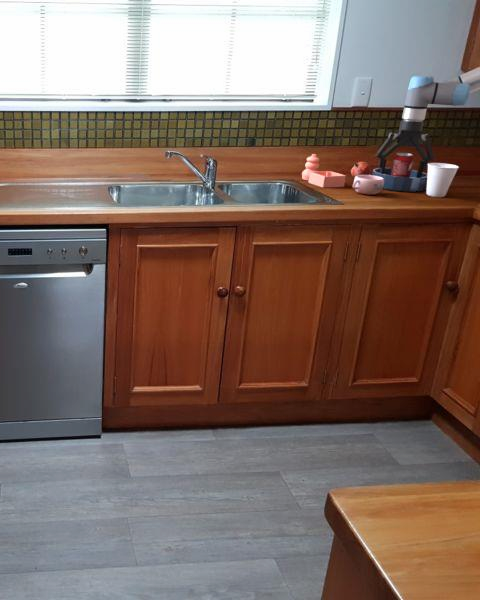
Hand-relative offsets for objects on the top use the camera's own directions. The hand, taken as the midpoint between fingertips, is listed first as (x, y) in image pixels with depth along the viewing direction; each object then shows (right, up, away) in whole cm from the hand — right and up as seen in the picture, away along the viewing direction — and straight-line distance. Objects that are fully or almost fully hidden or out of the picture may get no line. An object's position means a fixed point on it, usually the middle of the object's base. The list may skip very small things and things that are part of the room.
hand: (399, 177), depth 233 cm
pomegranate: (-10, +5, +11) cm, 15 cm away
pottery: (-29, -1, +6) cm, 29 cm away
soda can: (0, -3, +1) cm, 3 cm away
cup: (+7, -9, -11) cm, 16 cm away
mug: (-19, -8, -11) cm, 23 cm away
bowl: (0, -3, +1) cm, 4 cm away
